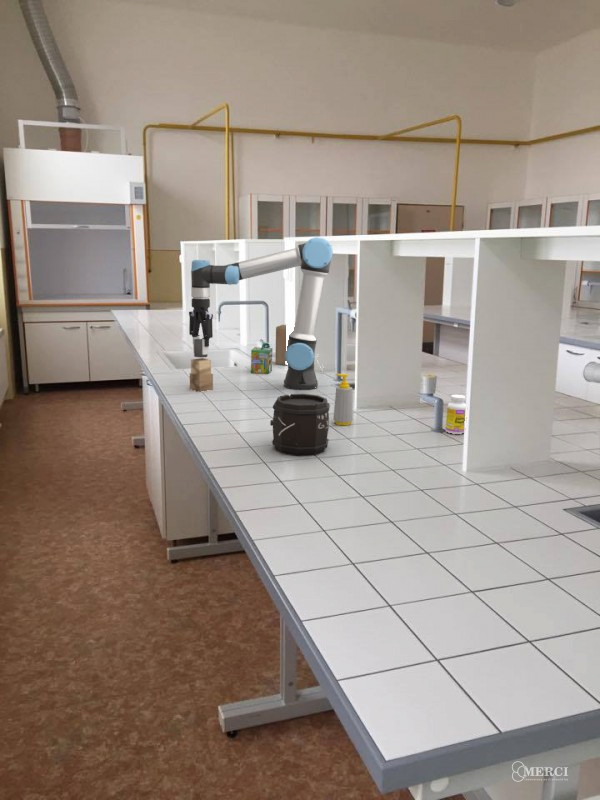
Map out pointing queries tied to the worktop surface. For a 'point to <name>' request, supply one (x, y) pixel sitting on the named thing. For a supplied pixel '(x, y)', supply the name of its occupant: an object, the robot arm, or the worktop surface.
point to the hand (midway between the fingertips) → (200, 353)
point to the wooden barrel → (300, 424)
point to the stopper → (198, 348)
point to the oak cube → (200, 366)
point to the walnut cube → (201, 382)
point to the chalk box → (261, 360)
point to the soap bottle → (343, 403)
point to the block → (280, 344)
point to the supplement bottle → (456, 415)
